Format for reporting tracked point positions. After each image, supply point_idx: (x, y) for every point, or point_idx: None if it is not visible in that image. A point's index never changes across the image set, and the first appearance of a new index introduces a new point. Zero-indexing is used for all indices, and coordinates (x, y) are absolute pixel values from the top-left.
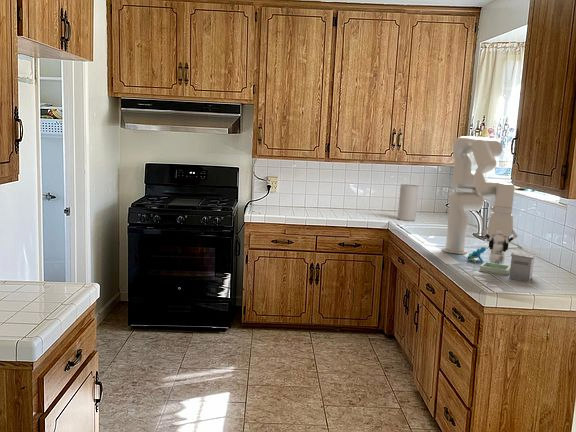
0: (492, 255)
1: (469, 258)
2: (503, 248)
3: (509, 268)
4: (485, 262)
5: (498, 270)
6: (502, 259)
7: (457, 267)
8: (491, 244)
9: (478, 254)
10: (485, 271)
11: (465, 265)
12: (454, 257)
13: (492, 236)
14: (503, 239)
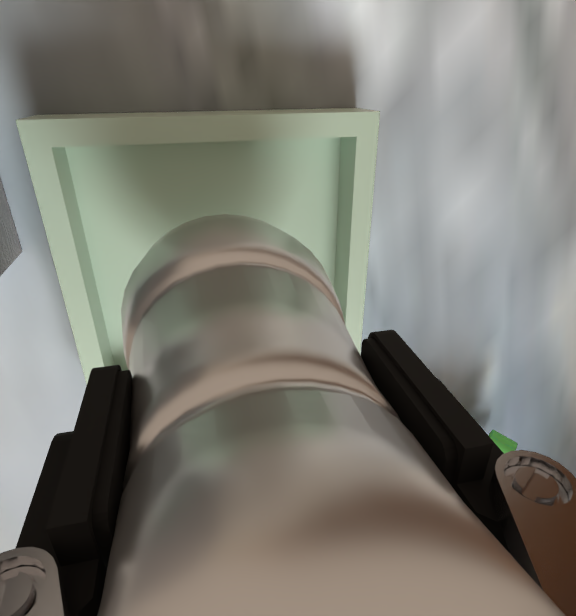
0: (297, 258)
1: None
2: (135, 409)
3: (64, 295)
4: None
5: (144, 114)
6: (134, 274)
7: (569, 88)
8: (416, 393)
9: None
10: (294, 110)
11: (494, 253)
12: (561, 444)
13: (561, 592)
14: (125, 610)
